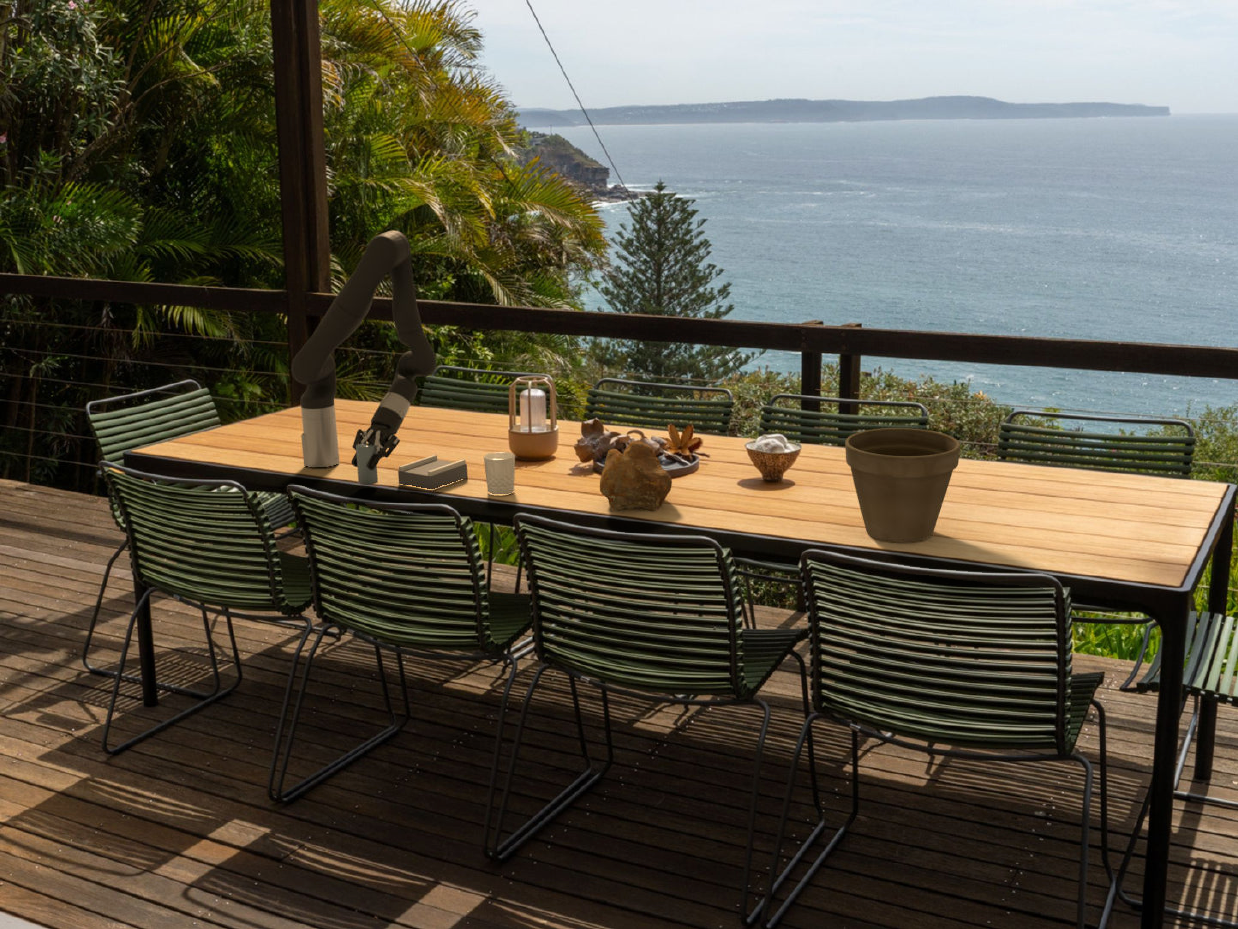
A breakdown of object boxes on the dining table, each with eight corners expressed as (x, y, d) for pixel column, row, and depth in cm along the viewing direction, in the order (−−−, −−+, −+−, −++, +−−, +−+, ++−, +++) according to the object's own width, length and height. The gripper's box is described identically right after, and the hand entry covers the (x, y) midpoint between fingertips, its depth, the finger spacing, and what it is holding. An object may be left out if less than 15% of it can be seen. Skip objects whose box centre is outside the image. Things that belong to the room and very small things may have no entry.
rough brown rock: (653, 525, 283) (658, 464, 279) (589, 512, 289) (593, 453, 285) (685, 501, 304) (690, 444, 300) (625, 490, 310) (629, 434, 306)
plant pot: (921, 559, 253) (926, 460, 247) (822, 537, 269) (823, 443, 263) (975, 530, 271) (980, 437, 265) (878, 510, 287) (881, 422, 281)
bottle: (356, 484, 314) (353, 448, 311) (361, 479, 319) (358, 443, 316) (375, 484, 314) (372, 448, 311) (379, 479, 319) (377, 443, 316)
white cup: (492, 499, 304) (490, 461, 302) (481, 491, 311) (479, 454, 309) (521, 494, 308) (519, 456, 305) (509, 487, 315) (507, 450, 312)
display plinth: (432, 491, 313) (431, 472, 311) (399, 485, 319) (397, 466, 318) (467, 478, 324) (466, 459, 322) (434, 472, 330) (433, 454, 329)
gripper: (363, 402, 321) (334, 455, 315) (403, 408, 313) (373, 463, 307) (379, 418, 327) (350, 470, 320) (418, 424, 319) (389, 478, 313)
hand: (362, 466), depth 314 cm, fingers closed on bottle, 5 cm apart
